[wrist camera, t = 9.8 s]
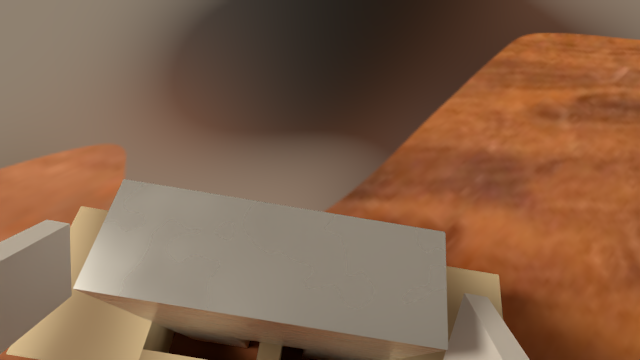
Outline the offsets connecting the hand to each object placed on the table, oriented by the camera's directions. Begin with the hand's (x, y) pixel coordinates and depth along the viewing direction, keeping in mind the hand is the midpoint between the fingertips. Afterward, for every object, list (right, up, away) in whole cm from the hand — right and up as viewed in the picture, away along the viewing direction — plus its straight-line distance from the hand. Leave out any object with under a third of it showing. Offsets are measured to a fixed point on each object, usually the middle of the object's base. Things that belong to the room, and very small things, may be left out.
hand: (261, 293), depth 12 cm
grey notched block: (0, -4, +9) cm, 10 cm away
